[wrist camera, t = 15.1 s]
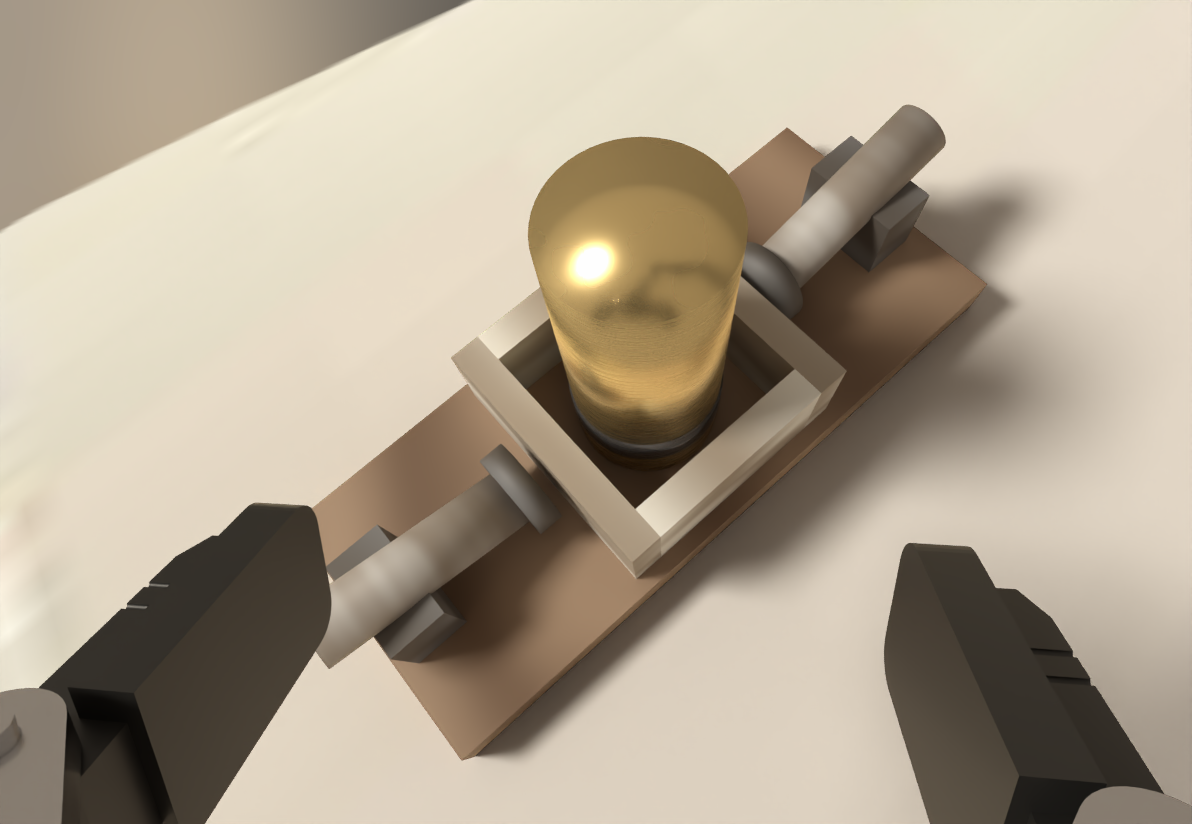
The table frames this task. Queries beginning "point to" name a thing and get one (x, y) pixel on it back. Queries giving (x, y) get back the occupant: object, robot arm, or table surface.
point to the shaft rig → (611, 492)
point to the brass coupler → (641, 292)
